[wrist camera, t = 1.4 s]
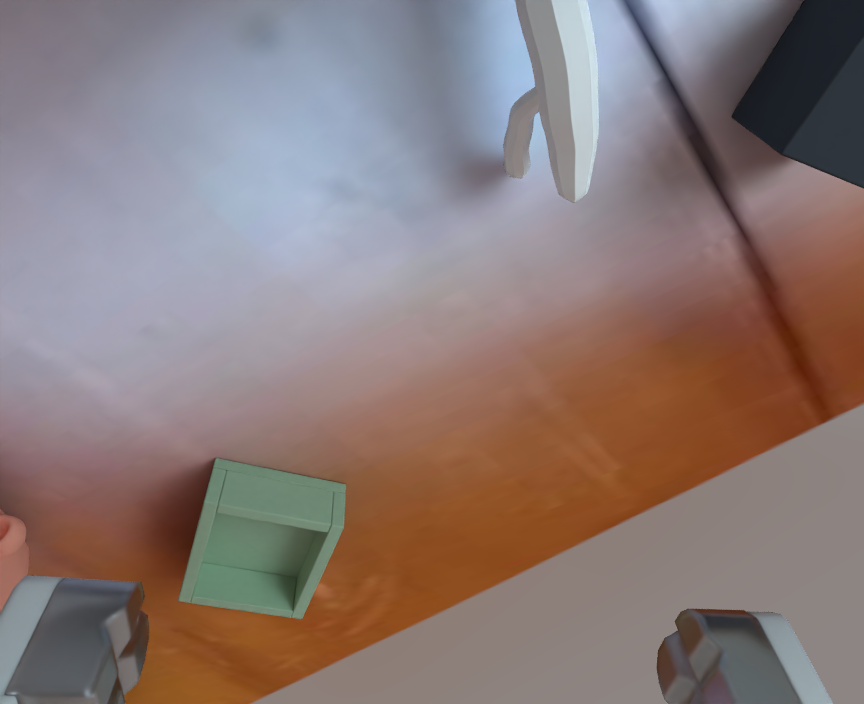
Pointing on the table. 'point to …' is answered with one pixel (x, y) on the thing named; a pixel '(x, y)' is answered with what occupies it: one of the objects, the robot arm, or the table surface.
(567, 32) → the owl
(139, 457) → the table surface
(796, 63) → the dark rectangular block
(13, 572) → the teapot
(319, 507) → the frame
